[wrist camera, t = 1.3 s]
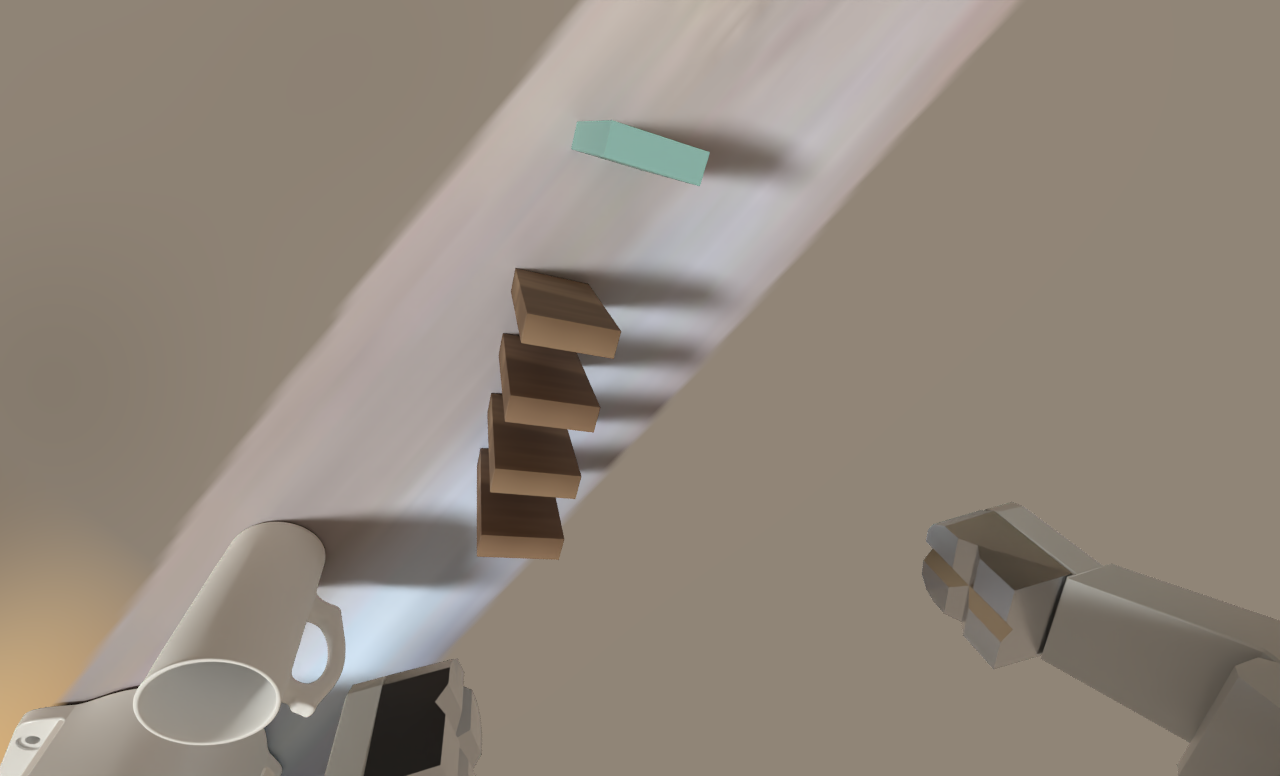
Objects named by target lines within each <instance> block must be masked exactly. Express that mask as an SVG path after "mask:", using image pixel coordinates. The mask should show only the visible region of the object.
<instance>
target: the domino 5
mask: <svg viewBox="0 0 1280 776" xmlns="http://www.w3.org/2000/svg"><path fill="white" fill-rule="evenodd" d="M572 149H573V150H576V151H579V152H583V153H586V154H589V155H593V156H596V157H599V158H603V159H606V160H609V161H613V162H616V163H619V164H623V165H626V166H629V167H633V168H636V169H639V170H643V171H646V172H650V173H653V174H657V175H661V176H664V177H668V178H672V179H675V180H679V181H683V182H686V183H690V184H694V185H697V186H700V184H701V180H702V177H703V174H704V170H705V167H706V164H707V160H708V157H709V154H710V152H708V151H705V150H702V149H698V148H695V147H692V146H689V145H686V144H683V143H680V142H677V141H674V140H671V139H668V138H665V137H662V136H659V135H656V134H653V133H649V132H646V131H643V130H640V129H637V128H634V127H631V126H628V125H625V124H622V123H619V122H616V121H613V120H607V121H581V122H577V125H576V130H575V134H574V139H573V144H572Z"/></svg>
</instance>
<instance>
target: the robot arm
mask: <svg viewBox="0 0 1280 776" xmlns="http://www.w3.org/2000/svg"><path fill="white" fill-rule="evenodd" d="M926 541H927V543H928V544H929V545H930V546H931V547H932V550H931V551H930V552H929V554H928V555H927V556H926V557H925V559H924V560H923V569H922V576H923V579H924V583H925V586H926V589H927V591H928V593H929V594H930V596H931V598H932V600H933V601H934V603H935V604H936V605H937V606H938V607H939V608H940V610H941V611H942V612H943V613H944V614H946V615H948V616H950V617H952V618H955V619H957V620H959V621H961V622H962V629H963V636H964V637H965V638H966V639H967V640H968V641H969V642H970V643H971V645H972V646H973V647H974V648H975V649H976V650H977V651H978V652H979V653H980V655H981V656H982V657H983V658H984V659H985V660H986V661H987V663H988V664H989V665H990V666H991V667H992V668H993V669H996V668H1000V667H1003V666H1007V665H1010V664H1013V663H1017V662H1020V661H1024V660H1028V659H1031V658H1034V657H1038V656H1041V659H1042V660H1044V661H1045V662H1047V663H1049V664H1051V665H1053V666H1054V667H1056V668H1058V669H1060V670H1062V671H1063V672H1065V673H1067V674H1069V675H1070V676H1072V677H1074V678H1076V679H1077V680H1079V681H1081V682H1083V683H1085V684H1086V685H1088V686H1090V687H1092V688H1094V689H1095V690H1097V691H1099V692H1101V693H1103V694H1104V695H1106V696H1108V697H1109V698H1111V699H1113V700H1115V701H1117V702H1118V703H1120V704H1122V705H1124V706H1126V707H1127V708H1129V709H1131V710H1133V711H1134V712H1136V713H1138V714H1140V715H1142V716H1143V717H1145V718H1147V719H1149V720H1150V721H1152V722H1154V723H1156V724H1157V725H1159V726H1161V727H1163V728H1165V729H1166V730H1168V731H1170V732H1172V733H1173V734H1175V735H1177V736H1179V737H1181V738H1182V739H1184V740H1186V741H1188V742H1189V743H1190V744H1189V745H1188V747H1187V749H1186V751H1185V752H1184V754H1183V756H1182V757H1181V759H1180V761H1179V763H1178V764H1177V767H1178V776H1280V620H1277V619H1274V618H1271V617H1268V616H1265V615H1262V614H1259V613H1256V612H1253V611H1250V610H1247V609H1244V608H1241V607H1238V606H1235V605H1232V604H1229V603H1226V602H1223V601H1220V600H1218V599H1214V598H1212V597H1209V596H1206V595H1203V594H1200V593H1197V592H1194V591H1191V590H1188V589H1185V588H1182V587H1179V586H1176V585H1173V584H1170V583H1167V582H1164V581H1161V580H1158V579H1155V578H1153V577H1149V576H1147V575H1144V574H1140V573H1138V572H1135V571H1132V570H1129V569H1126V568H1123V567H1120V566H1117V565H1114V564H1108V565H1104V566H1103V565H1101V564H1100V563H1099V562H1098V561H1096V560H1095V559H1094V558H1092V557H1091V556H1090V555H1088V554H1087V553H1085V552H1084V551H1083V550H1081V549H1080V548H1079V547H1077V546H1076V545H1075V544H1073V543H1072V542H1071V541H1069V540H1068V539H1067V538H1065V537H1064V536H1063V535H1061V534H1060V533H1059V532H1057V531H1056V530H1055V529H1053V528H1052V527H1051V526H1049V525H1048V524H1047V523H1045V522H1044V521H1043V520H1041V519H1040V518H1039V517H1037V516H1036V515H1035V514H1033V513H1032V512H1031V511H1029V510H1028V509H1027V508H1025V507H1024V506H1022V505H1020V504H1017V503H1014V502H1010V503H1006V504H1003V505H999V506H995V507H992V508H988V509H985V510H979V511H976V512H972V513H969V514H966V515H962V516H959V517H956V518H952V519H949V520H945V521H942V522H939V523H936V524H933V525H932V526H931V527H930V529H929V530H928V534H927V540H926ZM463 684H464V671H463V669H462V667H461V665H460V663H459V661H458V659H451V660H447V661H443V662H439V663H435V664H431V665H428V666H424V667H420V668H416V669H412V670H408V671H404V672H400V673H396V674H392V675H388V676H385V677H381V678H377V679H373V680H370V681H366V682H362V683H358V684H354V685H353V686H352V688H351V689H350V691H349V693H348V694H347V696H346V698H345V701H344V705H343V709H342V712H341V716H340V720H339V724H338V727H337V731H336V735H335V738H334V742H333V746H332V750H331V753H330V757H329V761H328V764H327V768H326V772H325V776H476V775H475V773H474V771H473V768H474V766H475V765H476V763H477V761H478V759H479V758H480V756H481V755H482V730H481V722H480V713H479V709H478V705H477V701H476V698H475V696H474V693H473V691H472V690H471V689H468V688H466V687H464V686H463ZM136 691H137V689H132V690H127V691H122V692H118V693H114V694H110V695H107V696H104V697H101V698H98V699H95V700H92V701H89V702H86V703H82V704H78V705H66V706H54V707H45V708H39V709H35V710H32V711H29V712H27V713H26V714H25V715H24V716H23V718H22V719H21V721H20V722H19V724H18V726H17V727H16V729H15V731H14V734H13V736H12V739H11V741H10V744H9V746H8V748H7V751H6V753H5V756H4V759H3V761H2V763H1V766H0V776H280V775H281V773H282V767H281V765H280V764H279V762H278V761H277V760H276V759H275V758H274V757H273V756H272V755H271V754H270V753H269V750H268V747H267V738H266V733H265V730H264V728H263V729H261V730H260V731H258V732H256V733H254V734H252V735H250V736H248V737H246V738H243V739H240V740H237V741H233V742H229V743H224V744H216V745H189V744H182V743H177V742H173V741H169V740H166V739H164V738H161V737H159V736H157V735H155V734H153V733H152V732H150V731H149V730H147V729H146V728H145V727H144V726H143V725H142V724H141V723H140V722H139V721H138V719H137V717H136V715H135V713H134V710H133V699H134V695H135V693H136Z"/></svg>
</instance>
